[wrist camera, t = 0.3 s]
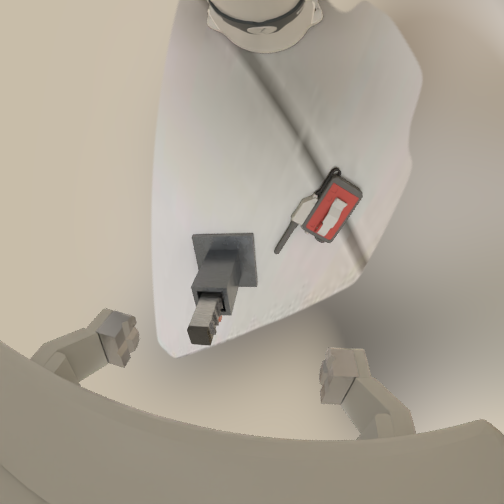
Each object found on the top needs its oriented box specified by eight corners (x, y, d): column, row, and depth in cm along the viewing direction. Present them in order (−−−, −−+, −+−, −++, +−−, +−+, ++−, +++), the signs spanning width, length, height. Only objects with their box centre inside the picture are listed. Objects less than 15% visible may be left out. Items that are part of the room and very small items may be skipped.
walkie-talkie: (324, 159, 44) (271, 247, 54) (328, 165, 41) (269, 259, 51) (365, 184, 46) (308, 266, 56) (372, 192, 42) (310, 278, 52)
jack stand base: (193, 234, 54) (170, 271, 43) (253, 233, 53) (243, 272, 42) (203, 283, 60) (186, 324, 49) (257, 283, 59) (250, 327, 48)
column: (216, 256, 55) (186, 329, 38) (233, 256, 54) (209, 331, 37) (218, 270, 57) (191, 344, 40) (235, 270, 56) (213, 346, 39)
